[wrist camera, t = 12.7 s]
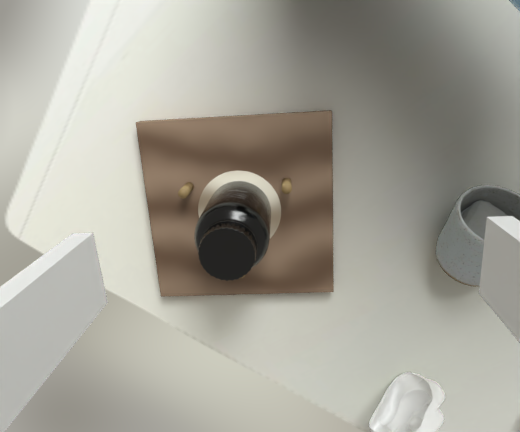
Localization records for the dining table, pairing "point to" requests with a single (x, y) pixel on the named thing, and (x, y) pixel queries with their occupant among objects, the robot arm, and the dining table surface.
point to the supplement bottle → (233, 230)
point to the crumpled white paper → (409, 406)
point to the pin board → (248, 170)
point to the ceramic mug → (472, 230)
